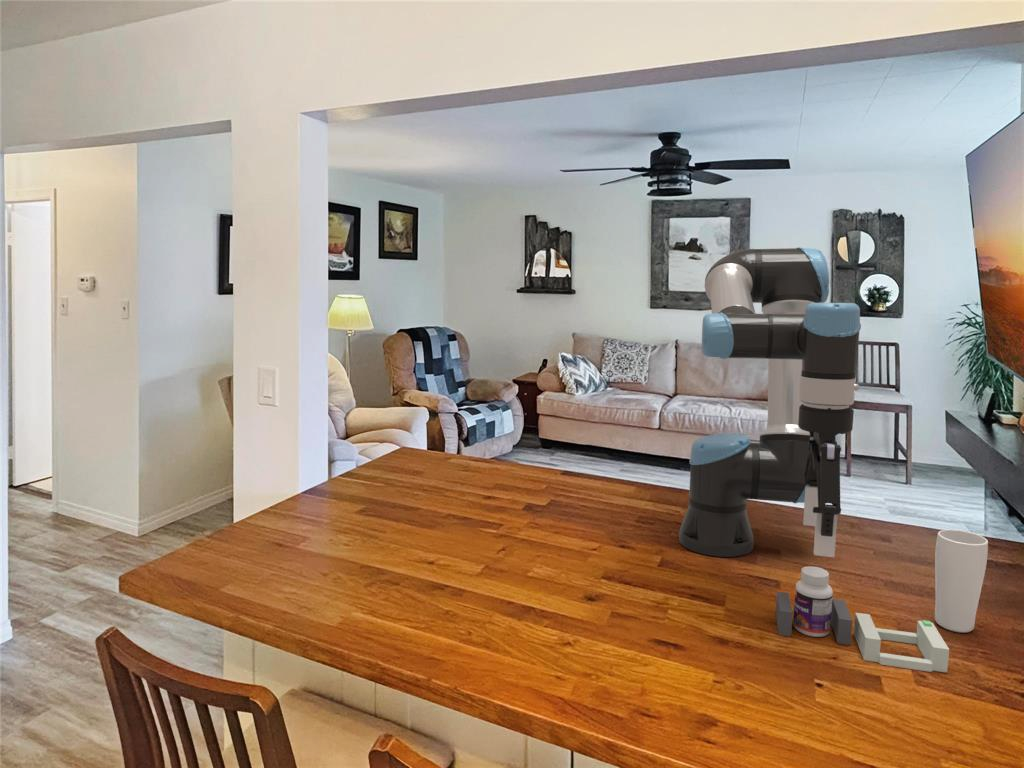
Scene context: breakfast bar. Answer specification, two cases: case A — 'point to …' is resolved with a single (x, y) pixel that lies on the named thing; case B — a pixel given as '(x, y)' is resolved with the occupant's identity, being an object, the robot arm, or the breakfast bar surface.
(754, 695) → the breakfast bar surface
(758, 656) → the breakfast bar surface
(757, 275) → the robot arm
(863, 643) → the port
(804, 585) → the pill bottle
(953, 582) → the drinking glass
